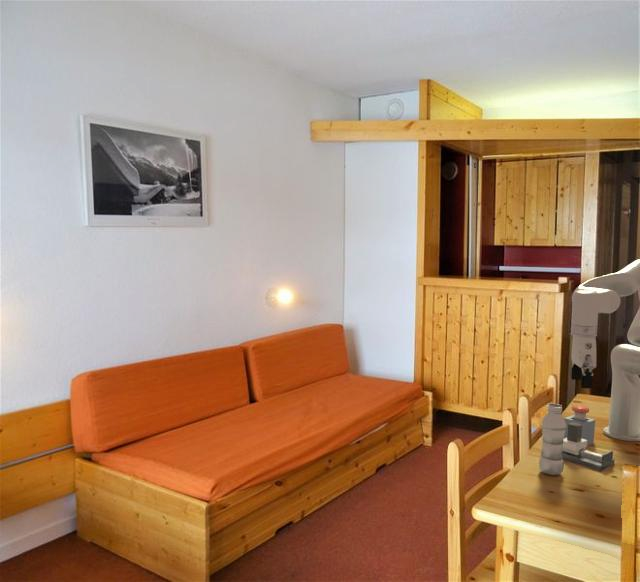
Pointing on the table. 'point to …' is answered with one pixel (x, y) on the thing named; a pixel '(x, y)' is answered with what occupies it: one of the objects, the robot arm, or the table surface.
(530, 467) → the table surface
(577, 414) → the button
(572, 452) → the carriage
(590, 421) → the gauge cabinet
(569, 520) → the table surface
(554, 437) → the plastic bottle
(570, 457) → the track
